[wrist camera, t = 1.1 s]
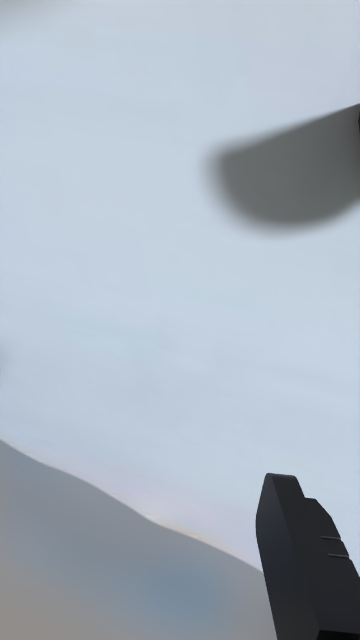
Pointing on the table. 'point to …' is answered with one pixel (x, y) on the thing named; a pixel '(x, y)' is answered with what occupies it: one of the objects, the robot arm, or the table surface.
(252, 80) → the table surface
